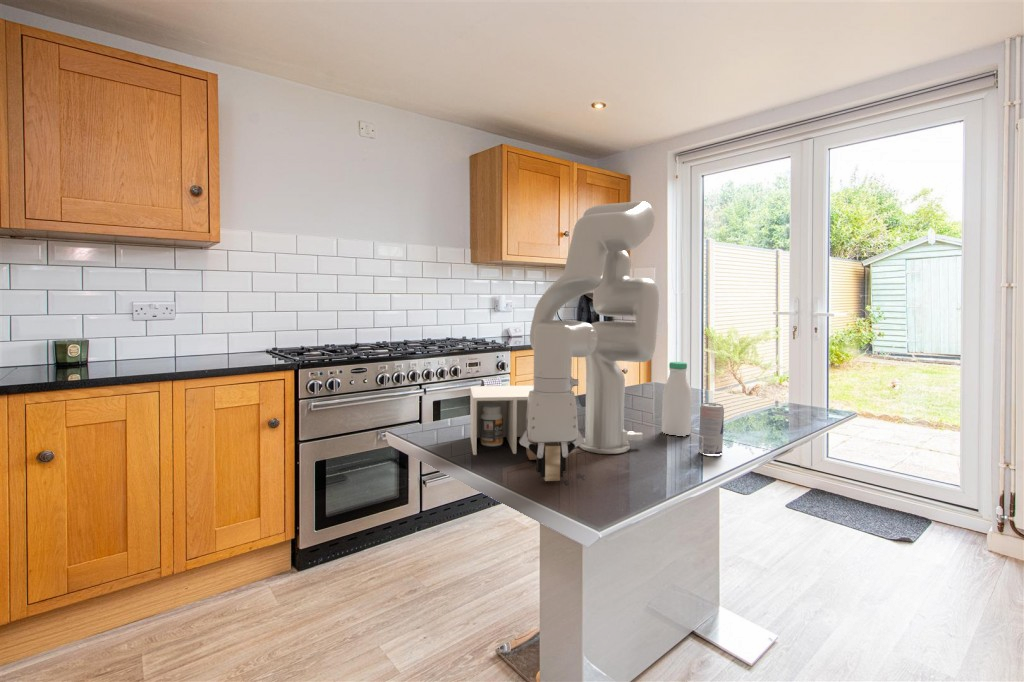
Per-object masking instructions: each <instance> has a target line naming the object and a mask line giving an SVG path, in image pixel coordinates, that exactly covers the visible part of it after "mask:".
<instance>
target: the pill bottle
mask: <svg viewBox="0 0 1024 682" xmlns="http://www.w3.org/2000/svg"><path fill="white" fill-rule="evenodd" d="M500 411H501V406H500V405H497V404H487V405H483V412H484V413H483V414H482V415H481V438H480V444H481V445H483V446H485V447H499V446H501V445H503V443H504V437H503V416H502V414H501V413H500Z"/></svg>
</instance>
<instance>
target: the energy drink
mask: <svg viewBox="0 0 1024 682" xmlns="http://www.w3.org/2000/svg"><path fill="white" fill-rule="evenodd" d="M724 415H725V409H724V405H723V404H720V403H714V402H704V403H703V402H702V403H701V404H700V406H699V426H698V427H699V428H698V429H699V430H698V432H699V433H698V453H699V452H701V453H704V454H720V453H722V454H723V446H724V443H723V442H724V420H725V418H724V417H725V416H724Z"/></svg>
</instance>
